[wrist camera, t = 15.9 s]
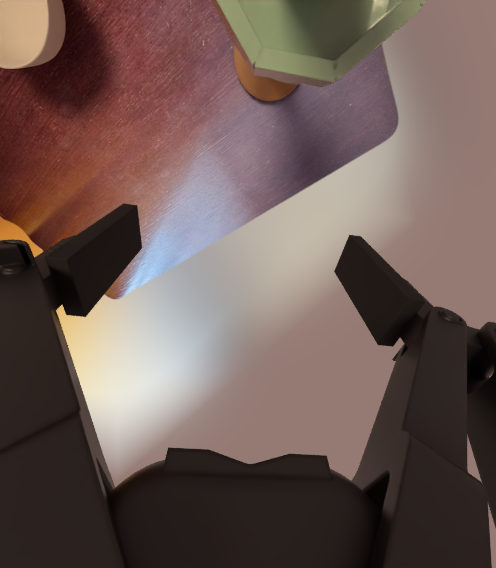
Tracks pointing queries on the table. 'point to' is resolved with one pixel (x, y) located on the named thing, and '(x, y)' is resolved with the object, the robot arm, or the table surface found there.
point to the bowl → (30, 32)
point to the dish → (310, 34)
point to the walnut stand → (260, 82)
